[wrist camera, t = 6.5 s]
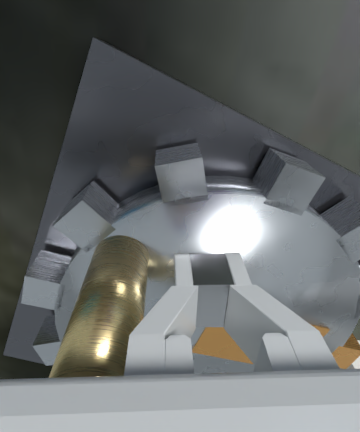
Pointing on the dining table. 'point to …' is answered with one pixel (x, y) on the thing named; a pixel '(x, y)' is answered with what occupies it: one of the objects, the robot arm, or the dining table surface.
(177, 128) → the base plate
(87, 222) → the sprocket
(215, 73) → the dining table surface
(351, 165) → the dining table surface
